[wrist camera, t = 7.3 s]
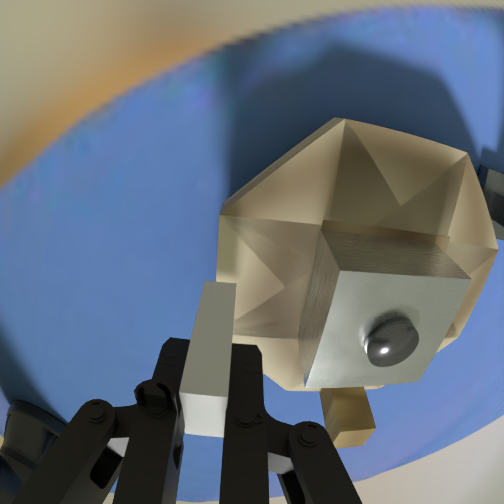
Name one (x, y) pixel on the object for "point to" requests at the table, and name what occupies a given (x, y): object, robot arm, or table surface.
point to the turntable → (351, 221)
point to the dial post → (493, 197)
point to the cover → (376, 309)
